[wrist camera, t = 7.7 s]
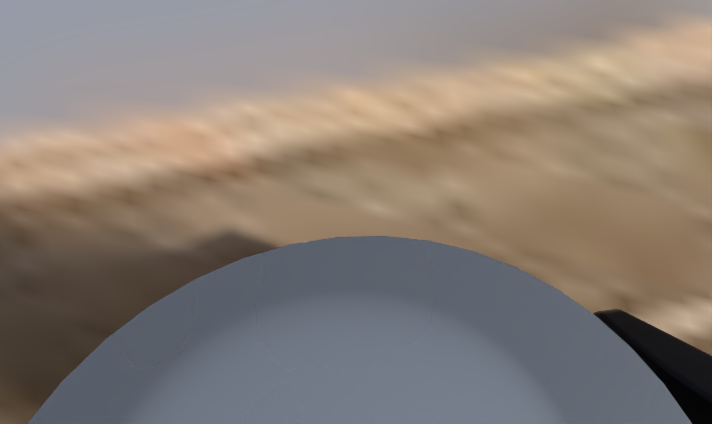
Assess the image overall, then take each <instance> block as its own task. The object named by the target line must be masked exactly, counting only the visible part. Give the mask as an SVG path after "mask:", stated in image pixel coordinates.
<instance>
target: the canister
mask: <svg viewBox="0 0 712 424" xmlns="http://www.w3.org/2000/svg"><path fill="white" fill-rule="evenodd" d="M27 424H692V423H691V421H690V420H689V419H688V417H687V416H686V414H685V413H684V412H683V410H682V409H681V407H680V406H679V405H678V403H677V402H676V400H675V399H674V397H673V396H672V395H671V393H670V392H669V390H668V389H667V388H666V386H665V385H664V384H663V382H662V381H661V380H660V379H659V378H658V377H657V376H656V375H655V374H654V372H653V371H652V370H651V369H650V368H649V367H648V366H647V365H646V363H645V362H644V361H643V360H642V359H641V358H640V357H639V356H638V354H637V353H636V352H635V351H634V350H633V349H632V348H631V347H630V346H629V345H628V344H627V343H626V342H625V341H623V340H622V339H621V338H620V337H619V336H618V335H617V334H616V333H614V332H613V331H612V330H611V329H610V328H609V327H608V326H607V325H605V324H604V323H603V322H602V321H601V320H600V319H599V318H598V317H596V316H595V315H594V314H592V313H591V312H589V311H588V310H587V309H585V308H584V307H582V306H581V305H579V304H578V303H577V302H575V301H574V300H572V299H571V298H569V297H568V296H567V295H565V294H564V293H562V292H561V291H559V290H558V289H556V288H554V287H553V286H551V285H549V284H547V283H545V282H543V281H541V280H539V279H537V278H536V277H534V276H532V275H530V274H528V273H526V272H524V271H522V270H520V269H519V268H517V267H514V266H511V265H509V264H506V263H503V262H501V261H498V260H496V259H493V258H490V257H488V256H485V255H482V254H480V253H477V252H474V251H470V250H466V249H462V248H458V247H454V246H449V245H445V244H441V243H437V242H433V241H427V240H417V239H408V238H398V237H389V236H364V237H335V238H329V239H322V240H316V241H310V242H303V243H297V244H290V245H287V246H283V247H280V248H276V249H273V250H270V251H266V252H263V253H259V254H256V255H252V256H249V257H245V258H242V259H240V260H238V261H235V262H233V263H231V264H228V265H226V266H224V267H221V268H219V269H217V270H214V271H212V272H210V273H208V274H205V275H203V276H201V277H198V278H196V279H194V280H193V281H191V282H189V283H187V284H186V285H184V286H182V287H181V288H179V289H177V290H175V291H174V292H172V293H170V294H169V295H167V296H165V297H164V298H162V299H160V300H158V301H157V302H155V303H153V304H152V305H150V306H149V307H147V308H146V309H145V310H143V311H142V312H141V313H139V314H138V315H137V316H135V317H134V318H133V319H132V320H130V321H129V322H128V323H126V324H125V325H124V326H122V327H121V328H120V329H118V330H117V331H116V332H114V333H113V334H112V335H110V336H109V337H108V338H107V339H105V340H104V341H103V342H102V343H101V344H100V345H99V346H98V347H97V348H96V349H95V350H94V351H93V352H92V353H91V354H90V355H89V356H88V357H87V358H86V359H84V360H83V361H82V362H81V363H80V364H79V365H78V366H77V367H76V368H75V369H74V370H73V371H72V372H71V373H70V374H69V375H68V376H67V377H66V378H65V379H64V380H63V381H62V382H61V383H60V384H59V386H58V387H57V388H56V389H55V391H54V392H53V393H52V394H51V395H50V397H49V398H48V399H47V400H46V401H45V403H44V404H43V405H42V406H41V408H40V409H39V410H38V411H37V412H36V414H35V415H34V416H33V417H32V419H31V420H30V421H29V422H28V423H27Z"/></svg>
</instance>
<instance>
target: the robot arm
mask: <svg viewBox="0 0 712 424" xmlns="http://www.w3.org/2000/svg"><path fill="white" fill-rule="evenodd" d="M594 315H595V316H596V317H598V318H599V319H600V320H601V321H602V322H603V323H604V324H605V325H607V326H608V327H609V328H610V329H611V330H612V331H613V332H614V333H616V334H617V335H618V336H619V337H620V338H621V339H622V340H623V341H625V342H626V343H627V344H628V345H629V346H630V347H631V348H632V349H633V350H634V351H635V352H636V353H637V354H638V356H639V357H640V358H641V359H642V360H643V361H644V362H645V363H646V365H647V366H648V367H649V368H650V369H651V370H652V371H653V372H654V374H655V375H656V376H657V377H658V378H659V379H660V380H661V381H662V382H663V384H664V385H665V386H666V388H667V389H668V390H669V392H670V393H671V395H672V396H673V397H674V399H675V400H676V402H677V403H678V405H679V406H680V407H681V409H682V410H683V412H684V413H685V414H686V416H687V417H688V419H689V420H690V421H691V423H692V424H712V356H711V355H709V354H707V353H705V352H703V351H701V350H699V349H697V348H695V347H693V346H691V345H689V344H687V343H685V342H683V341H682V340H680V339H678V338H676V337H674V336H672V335H670V334H668V333H666V332H664V331H662V330H660V329H658V328H656V327H654V326H652V325H650V324H648V323H646V322H644V321H642V320H640V319H638V318H636V317H634V316H632V315H630V314H628V313H626V312H624V311H622V310H619V309H612V310H605V311H598V312H595V313H594Z"/></svg>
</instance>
